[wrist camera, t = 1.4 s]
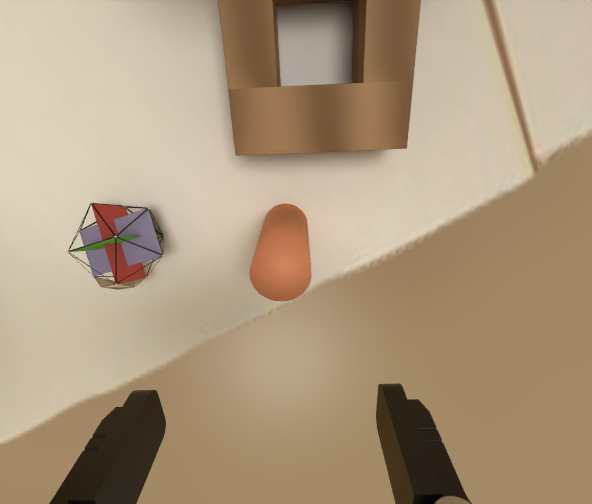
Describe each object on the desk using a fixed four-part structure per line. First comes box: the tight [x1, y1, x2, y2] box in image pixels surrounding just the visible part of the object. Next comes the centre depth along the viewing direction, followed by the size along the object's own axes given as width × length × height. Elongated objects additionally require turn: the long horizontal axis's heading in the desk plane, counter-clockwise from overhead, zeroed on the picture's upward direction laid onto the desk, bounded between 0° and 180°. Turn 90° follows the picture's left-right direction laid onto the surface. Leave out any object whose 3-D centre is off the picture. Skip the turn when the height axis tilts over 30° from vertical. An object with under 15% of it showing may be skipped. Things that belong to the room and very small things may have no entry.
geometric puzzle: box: [67, 202, 164, 289], centre depth 28 cm, size 7×7×8 cm
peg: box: [250, 204, 311, 301], centre depth 26 cm, size 4×4×10 cm
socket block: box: [218, 0, 421, 156], centre depth 22 cm, size 12×16×5 cm
